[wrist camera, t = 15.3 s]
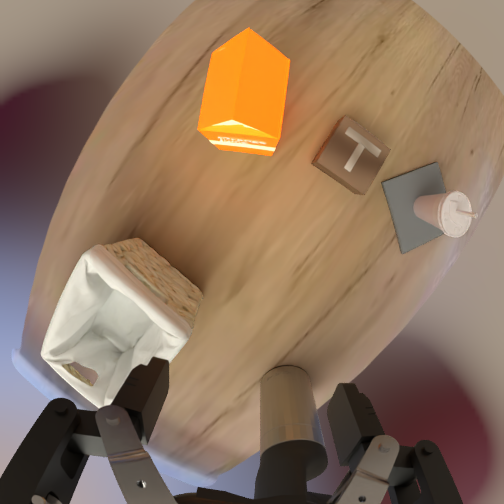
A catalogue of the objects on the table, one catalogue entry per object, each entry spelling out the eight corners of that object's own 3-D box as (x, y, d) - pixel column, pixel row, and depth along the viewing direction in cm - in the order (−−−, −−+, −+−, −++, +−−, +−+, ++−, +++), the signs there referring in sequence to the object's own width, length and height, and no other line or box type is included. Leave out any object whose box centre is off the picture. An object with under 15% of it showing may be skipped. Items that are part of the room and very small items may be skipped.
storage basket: (141, 371, 47) (112, 421, 33) (79, 317, 45) (35, 355, 31) (214, 291, 43) (194, 340, 28) (137, 223, 41) (84, 243, 26)
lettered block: (354, 194, 39) (365, 195, 35) (311, 163, 38) (317, 161, 34) (380, 151, 37) (391, 148, 33) (338, 120, 36) (346, 113, 32)
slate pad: (451, 227, 39) (453, 228, 39) (401, 253, 40) (402, 254, 40) (435, 162, 37) (437, 162, 36) (381, 182, 38) (382, 182, 37)
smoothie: (423, 179, 37) (480, 182, 23) (442, 209, 38) (497, 222, 24) (399, 204, 38) (453, 215, 24) (419, 234, 39) (473, 255, 25)
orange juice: (280, 100, 36) (298, 32, 16) (272, 156, 38) (286, 128, 18) (227, 94, 36) (201, 24, 16) (218, 150, 38) (180, 118, 18)
